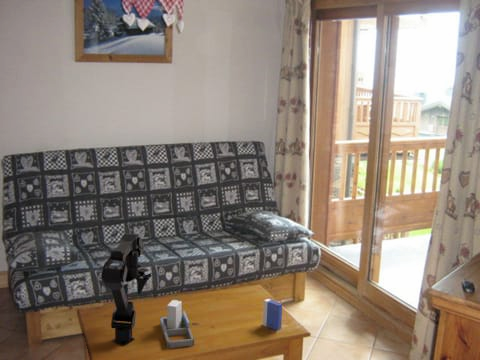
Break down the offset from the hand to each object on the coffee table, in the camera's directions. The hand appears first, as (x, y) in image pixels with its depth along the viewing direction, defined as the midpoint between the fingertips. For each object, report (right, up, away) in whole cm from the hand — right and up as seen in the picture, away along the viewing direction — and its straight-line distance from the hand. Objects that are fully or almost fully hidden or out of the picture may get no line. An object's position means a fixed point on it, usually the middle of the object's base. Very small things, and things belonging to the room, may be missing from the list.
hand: (131, 297), depth 246 cm
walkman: (+59, -14, +7) cm, 61 cm away
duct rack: (+19, -15, -3) cm, 24 cm away
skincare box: (+18, -14, +2) cm, 23 cm away
